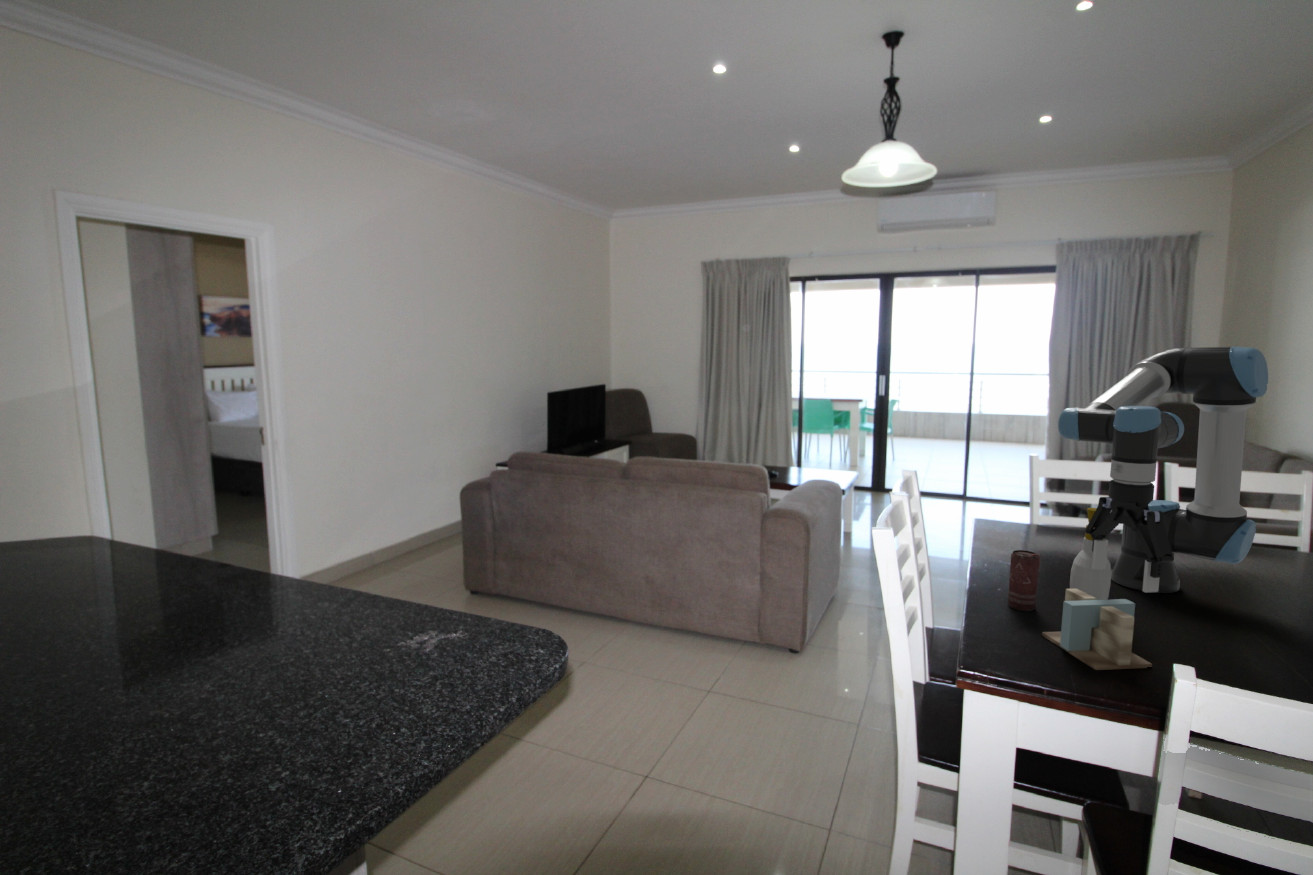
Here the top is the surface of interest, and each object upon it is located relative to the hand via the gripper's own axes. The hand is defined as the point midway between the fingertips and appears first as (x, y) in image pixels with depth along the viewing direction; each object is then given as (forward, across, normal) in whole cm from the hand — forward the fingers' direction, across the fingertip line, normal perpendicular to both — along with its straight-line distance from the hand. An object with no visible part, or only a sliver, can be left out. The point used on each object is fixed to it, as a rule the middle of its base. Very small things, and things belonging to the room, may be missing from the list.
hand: (1123, 579), depth 136 cm
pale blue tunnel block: (+15, 0, -5) cm, 16 cm away
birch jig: (+15, 0, -6) cm, 16 cm away
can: (+16, -24, -6) cm, 29 cm away
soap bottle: (+16, -19, +8) cm, 26 cm away
